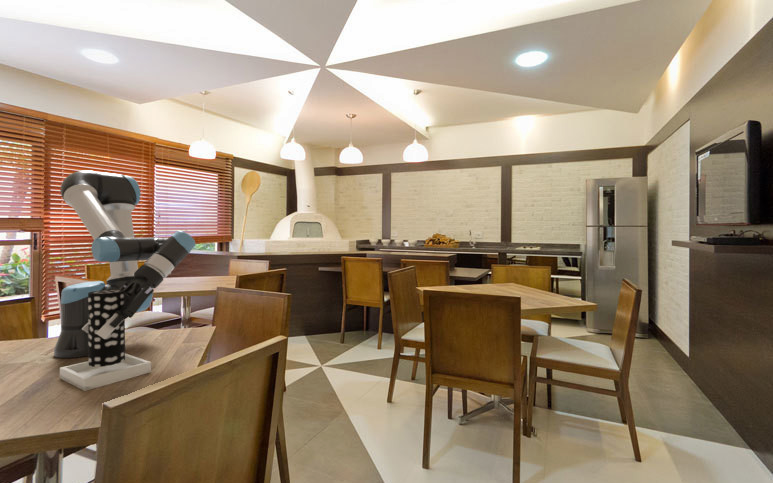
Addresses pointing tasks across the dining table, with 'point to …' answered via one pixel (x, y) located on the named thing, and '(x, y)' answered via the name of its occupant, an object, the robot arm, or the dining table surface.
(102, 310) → the white-spotted black cylinder
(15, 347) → the dining table surface
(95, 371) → the tray
